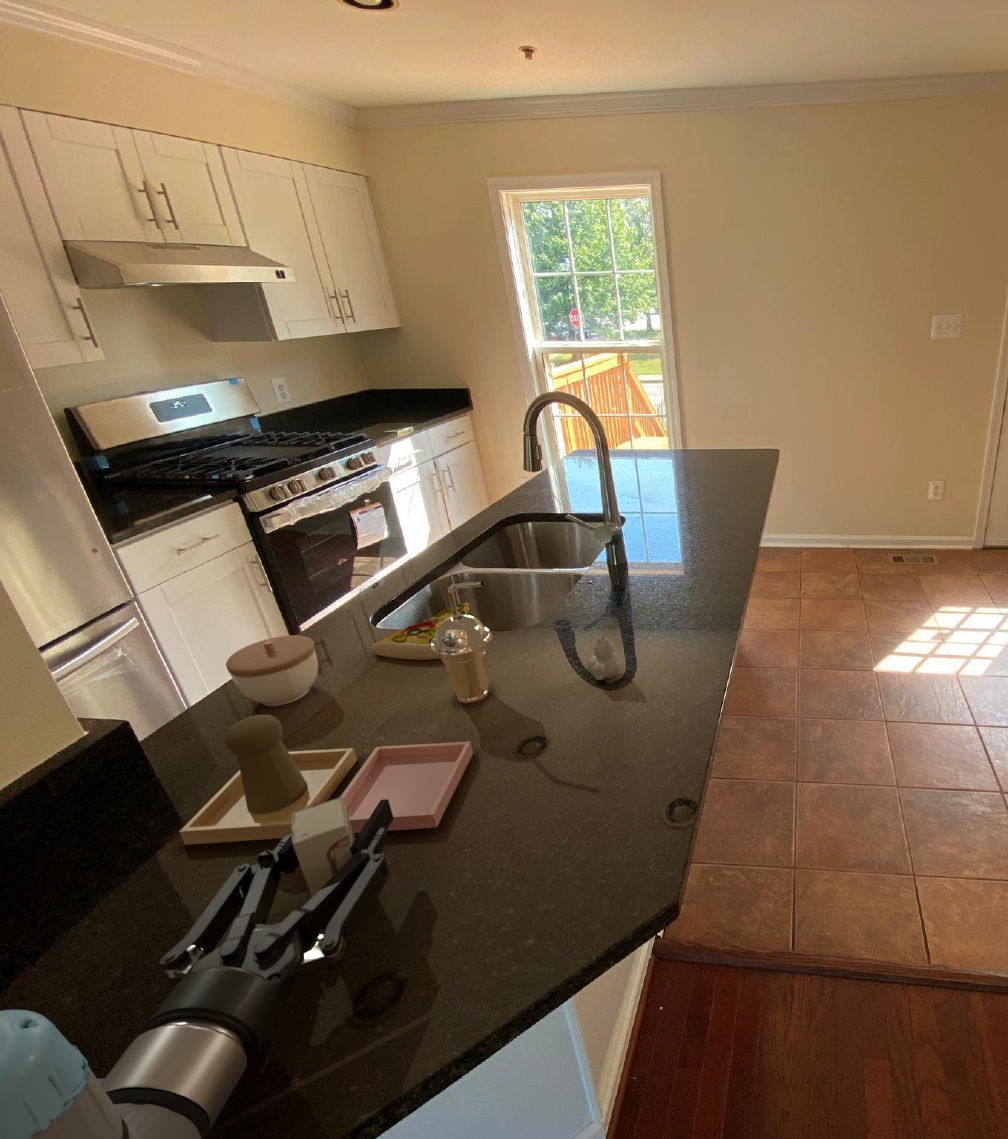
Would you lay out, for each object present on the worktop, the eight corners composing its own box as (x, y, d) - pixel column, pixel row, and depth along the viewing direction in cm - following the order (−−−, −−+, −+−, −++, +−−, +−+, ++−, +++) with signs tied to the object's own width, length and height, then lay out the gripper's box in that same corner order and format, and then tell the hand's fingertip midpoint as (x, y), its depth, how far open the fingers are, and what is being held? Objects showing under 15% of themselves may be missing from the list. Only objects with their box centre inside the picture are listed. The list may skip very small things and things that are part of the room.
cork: (242, 796, 75) (212, 723, 71) (300, 771, 79) (275, 700, 75) (252, 822, 72) (221, 746, 67) (313, 794, 76) (287, 721, 71)
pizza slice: (366, 659, 106) (362, 644, 105) (433, 606, 125) (430, 592, 124) (452, 663, 105) (449, 647, 104) (506, 609, 124) (504, 595, 123)
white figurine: (627, 668, 104) (624, 626, 101) (614, 690, 98) (610, 646, 95) (597, 665, 105) (593, 624, 102) (582, 687, 99) (576, 644, 96)
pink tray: (326, 835, 71) (321, 822, 70) (379, 758, 83) (376, 746, 82) (436, 827, 72) (433, 814, 71) (473, 752, 84) (470, 741, 83)
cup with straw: (481, 674, 102) (460, 563, 94) (515, 692, 97) (495, 577, 89) (432, 698, 95) (404, 581, 88) (465, 719, 91) (438, 597, 83)
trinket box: (310, 668, 103) (294, 619, 99) (338, 690, 97) (322, 639, 93) (231, 698, 95) (211, 646, 91) (257, 724, 89) (236, 669, 85)
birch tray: (185, 844, 69) (178, 831, 68) (260, 765, 81) (255, 753, 80) (300, 837, 70) (295, 823, 70) (357, 759, 82) (353, 747, 82)
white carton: (370, 900, 63) (345, 826, 59) (319, 922, 60) (289, 847, 56) (366, 865, 67) (343, 793, 63) (318, 884, 64) (291, 811, 60)
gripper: (73, 1094, 45) (270, 843, 66) (346, 1065, 47) (452, 830, 68) (27, 1030, 42) (249, 789, 63) (319, 1003, 44) (440, 778, 65)
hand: (354, 811), depth 66 cm, fingers closed on white carton, 6 cm apart
